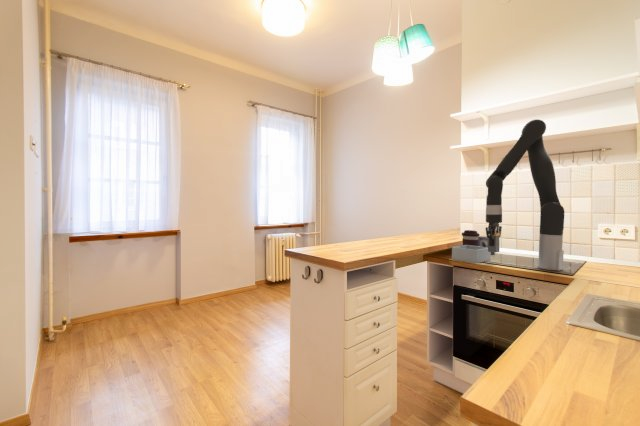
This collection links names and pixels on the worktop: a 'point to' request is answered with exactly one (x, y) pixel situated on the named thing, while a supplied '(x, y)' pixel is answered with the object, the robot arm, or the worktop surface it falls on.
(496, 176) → the robot arm
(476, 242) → the coffee cup
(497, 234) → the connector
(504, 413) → the worktop surface
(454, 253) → the walled box
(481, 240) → the small box
